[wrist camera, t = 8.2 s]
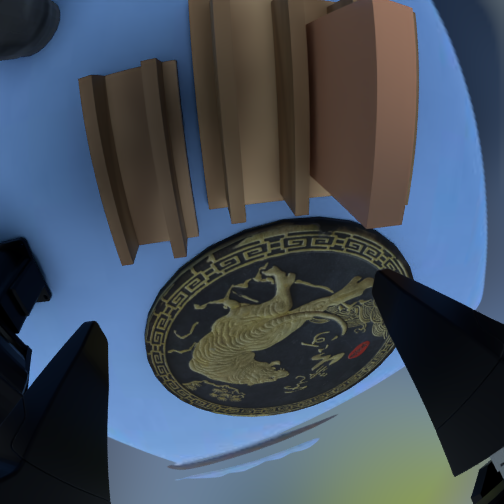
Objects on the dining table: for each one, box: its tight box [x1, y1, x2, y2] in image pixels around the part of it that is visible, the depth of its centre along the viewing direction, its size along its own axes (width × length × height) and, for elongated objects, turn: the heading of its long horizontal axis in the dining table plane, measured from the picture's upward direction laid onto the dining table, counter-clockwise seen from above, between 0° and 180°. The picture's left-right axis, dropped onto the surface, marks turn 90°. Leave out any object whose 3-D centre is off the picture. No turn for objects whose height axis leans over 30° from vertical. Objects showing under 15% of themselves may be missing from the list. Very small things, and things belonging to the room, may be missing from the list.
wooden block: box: [306, 0, 417, 229], centre depth 12 cm, size 2×9×9 cm, turn 3°
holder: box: [78, 58, 199, 266], centre depth 16 cm, size 6×12×3 cm, turn 4°
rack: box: [188, 0, 419, 224], centre depth 15 cm, size 14×14×4 cm
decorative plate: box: [145, 217, 414, 417], centre depth 29 cm, size 30×2×30 cm
